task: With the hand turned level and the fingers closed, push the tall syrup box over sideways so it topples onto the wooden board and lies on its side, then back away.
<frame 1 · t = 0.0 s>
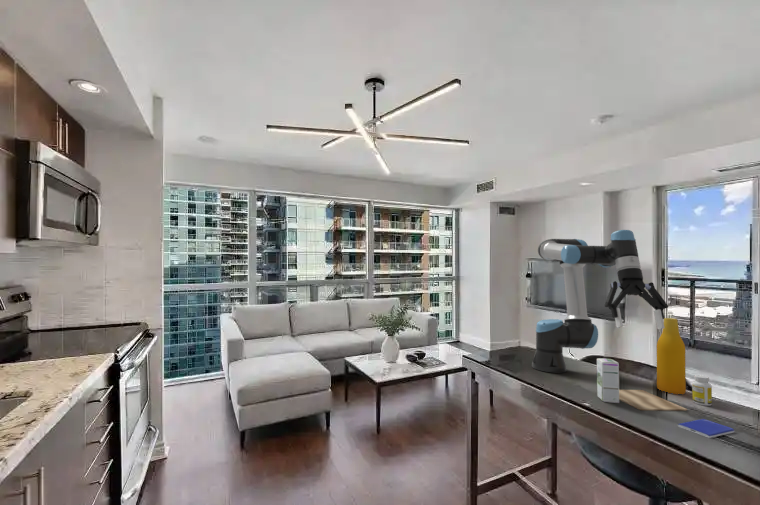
hand: (640, 328, 129), 28 cm above the table, tool tilted 20°, fingers open, 13 cm apart
syrup box: (607, 400, 136), on the table
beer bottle: (670, 391, 149), on the table
wooden board: (641, 400, 137), on the table
supplement bottle: (702, 404, 135), on the table
hard drive: (705, 431, 112), on the table
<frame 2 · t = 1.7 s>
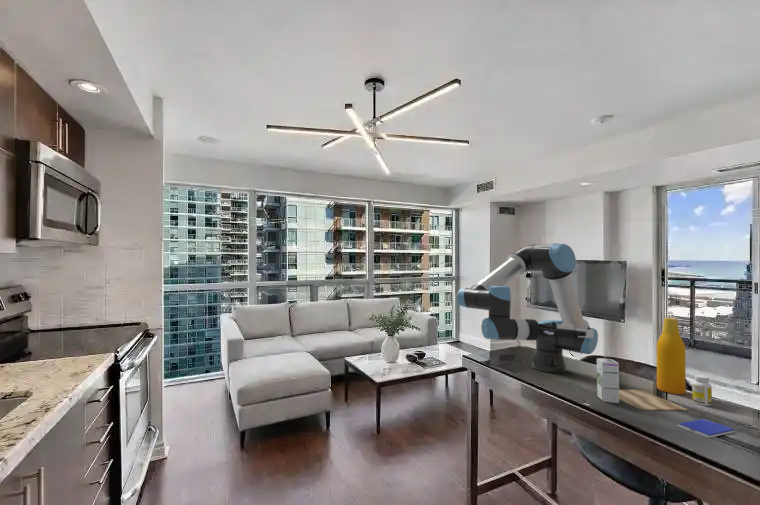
hand: (582, 330, 136), 25 cm above the table, tool horizontal, fingers open, 11 cm apart
nothing on the table moved.
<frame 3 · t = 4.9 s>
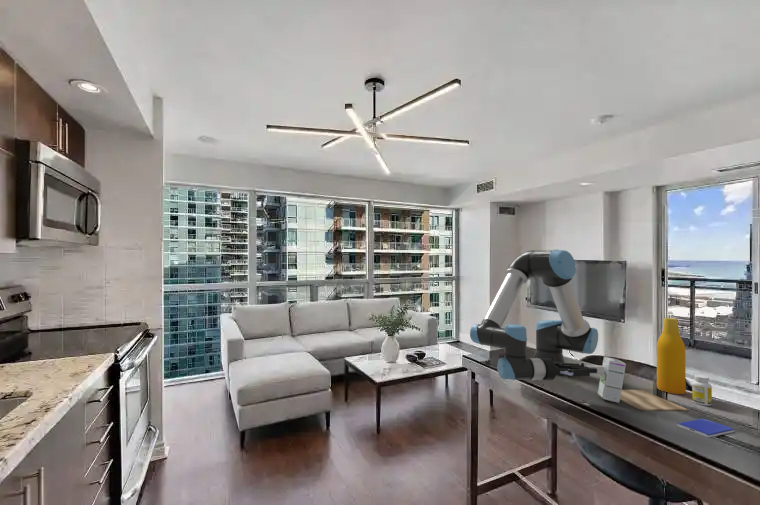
hand: (603, 369, 136), 11 cm above the table, tool horizontal, fingers closed
syrup box: (607, 399, 136), on the table, touching gripper
everything else where it was.
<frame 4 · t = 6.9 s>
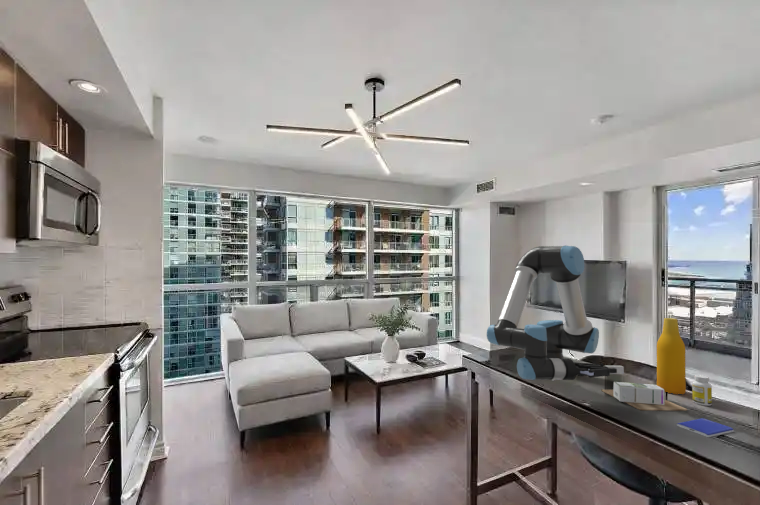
hand: (622, 369, 137), 11 cm above the table, tool horizontal, fingers closed
syrup box: (615, 391, 135), point 3 cm above the table, touching wooden board
everything else where it was.
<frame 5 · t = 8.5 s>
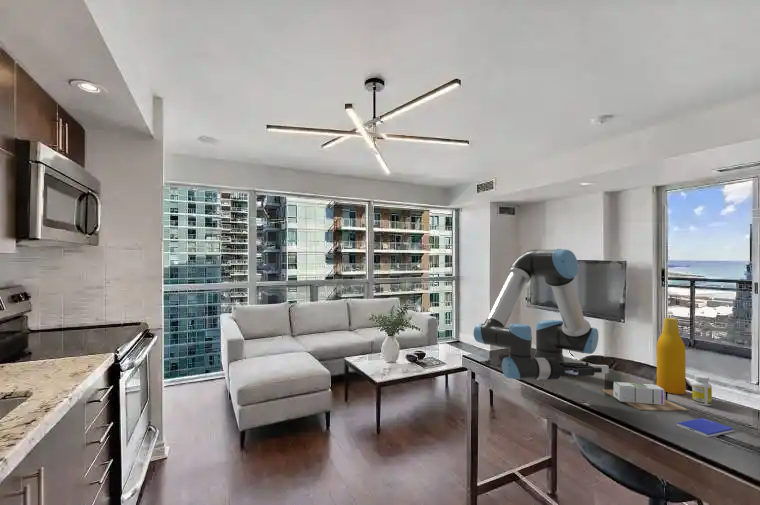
hand: (607, 369, 136), 11 cm above the table, tool horizontal, fingers closed
nothing on the table moved.
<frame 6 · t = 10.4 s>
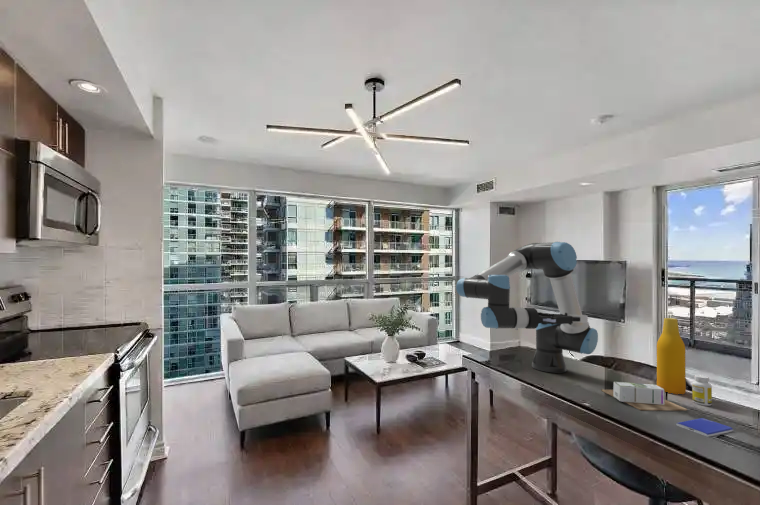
hand: (586, 318, 136), 29 cm above the table, tool horizontal, fingers closed
nothing on the table moved.
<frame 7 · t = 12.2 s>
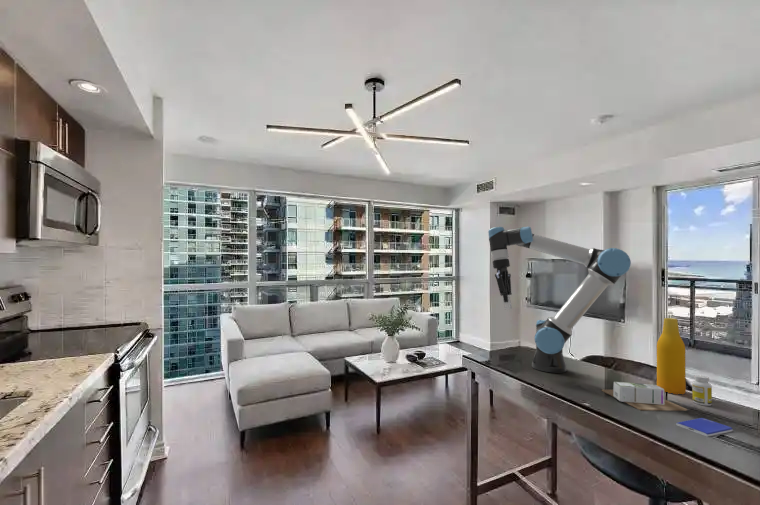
hand: (508, 309, 172), 29 cm above the table, tool pointing down, fingers closed
nothing on the table moved.
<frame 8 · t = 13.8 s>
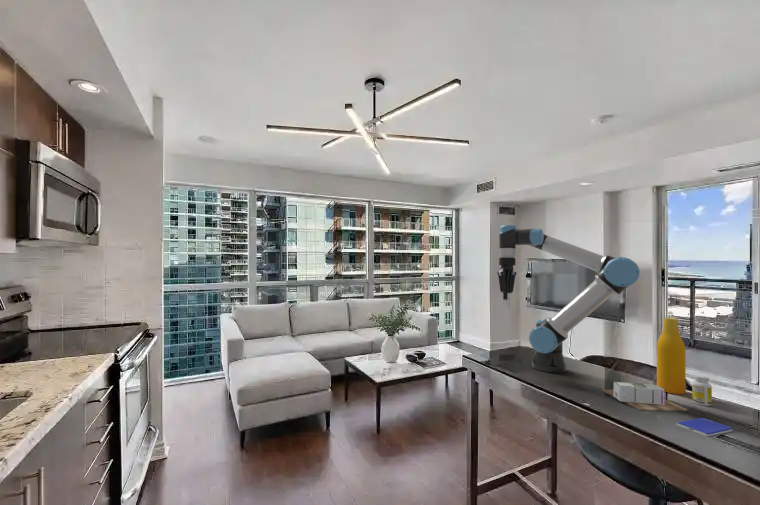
hand: (506, 306, 177), 29 cm above the table, tool pointing down, fingers closed
nothing on the table moved.
at the end: syrup box tilted 90°; syrup box touching wooden board; the gripper is holding nothing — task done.
